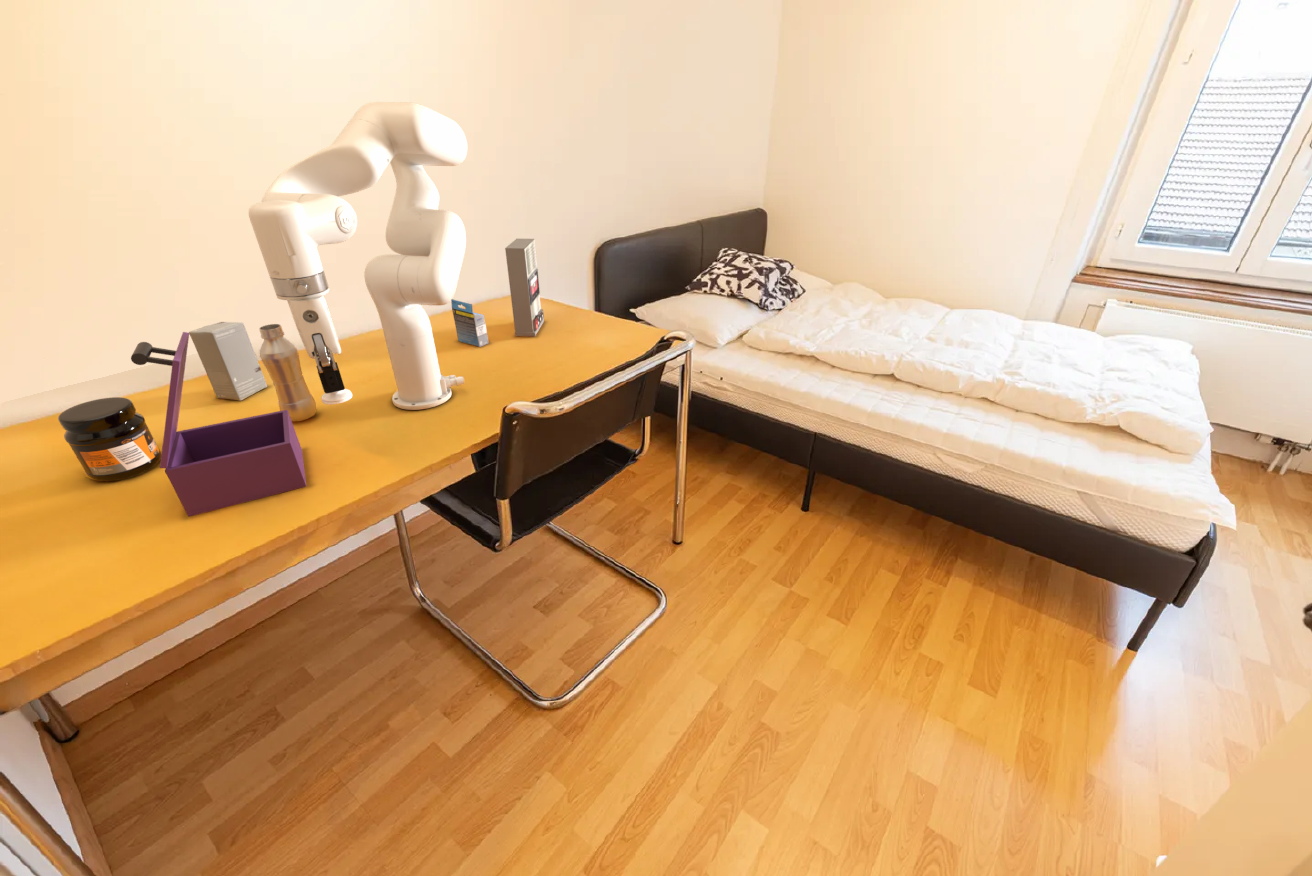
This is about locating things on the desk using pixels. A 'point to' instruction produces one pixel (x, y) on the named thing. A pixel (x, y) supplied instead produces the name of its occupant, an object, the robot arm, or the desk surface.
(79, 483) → the desk surface
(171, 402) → the lid
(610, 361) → the desk surface
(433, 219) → the robot arm
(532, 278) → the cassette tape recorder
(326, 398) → the chess piece
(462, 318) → the label tape box
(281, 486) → the box
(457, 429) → the desk surface
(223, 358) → the cosmetic box
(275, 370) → the plastic bottle
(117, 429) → the supplement container
